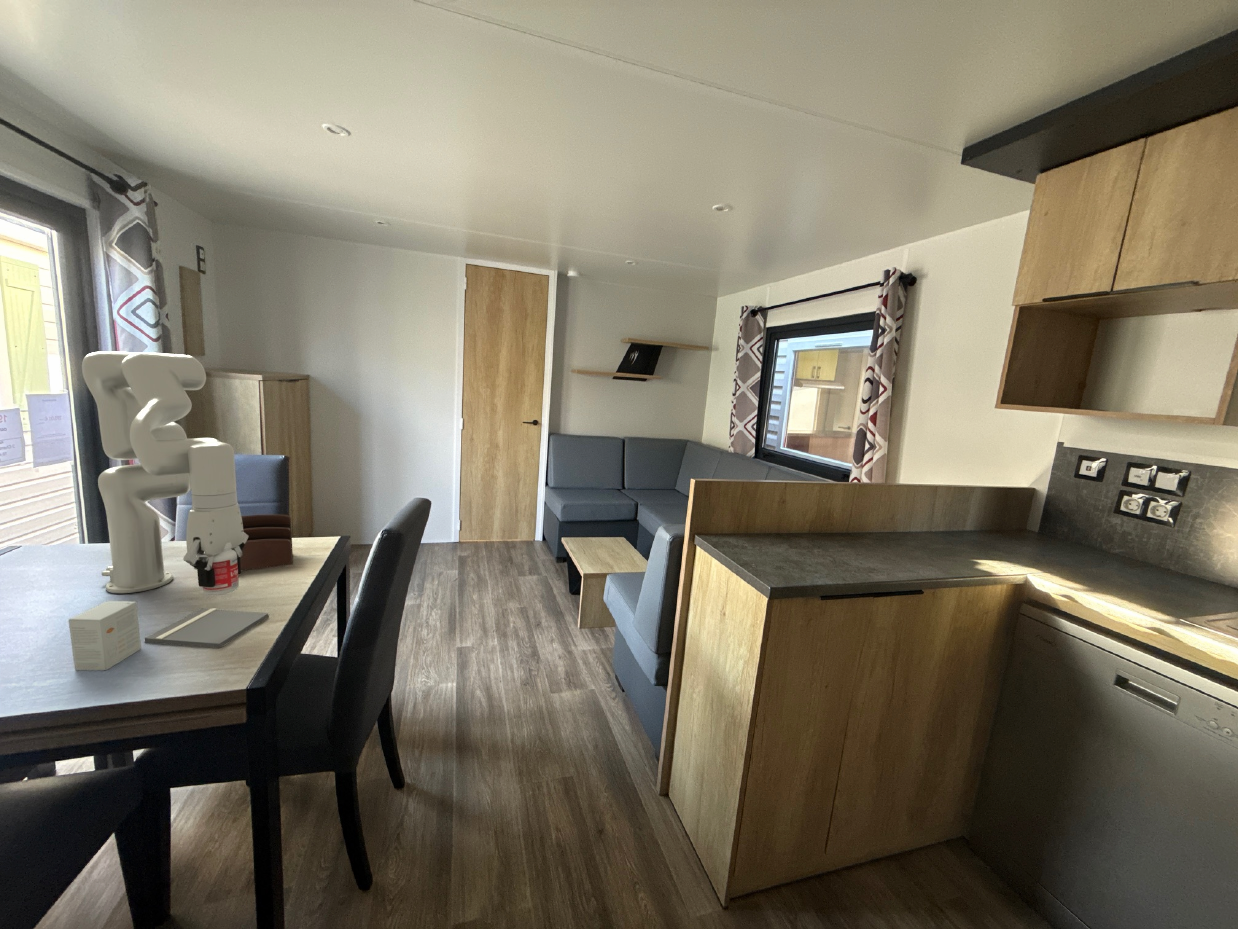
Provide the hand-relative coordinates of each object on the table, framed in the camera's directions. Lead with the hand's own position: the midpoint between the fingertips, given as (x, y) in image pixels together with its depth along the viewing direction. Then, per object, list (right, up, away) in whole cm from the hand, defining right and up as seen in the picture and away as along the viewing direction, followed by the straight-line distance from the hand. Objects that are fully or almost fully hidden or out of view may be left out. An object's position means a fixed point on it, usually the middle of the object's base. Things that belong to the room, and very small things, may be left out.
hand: (220, 579), depth 108 cm
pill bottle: (0, -3, 0) cm, 3 cm away
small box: (-13, -13, -11) cm, 22 cm away
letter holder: (-22, -5, +39) cm, 45 cm away
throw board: (-4, -12, +2) cm, 12 cm away
